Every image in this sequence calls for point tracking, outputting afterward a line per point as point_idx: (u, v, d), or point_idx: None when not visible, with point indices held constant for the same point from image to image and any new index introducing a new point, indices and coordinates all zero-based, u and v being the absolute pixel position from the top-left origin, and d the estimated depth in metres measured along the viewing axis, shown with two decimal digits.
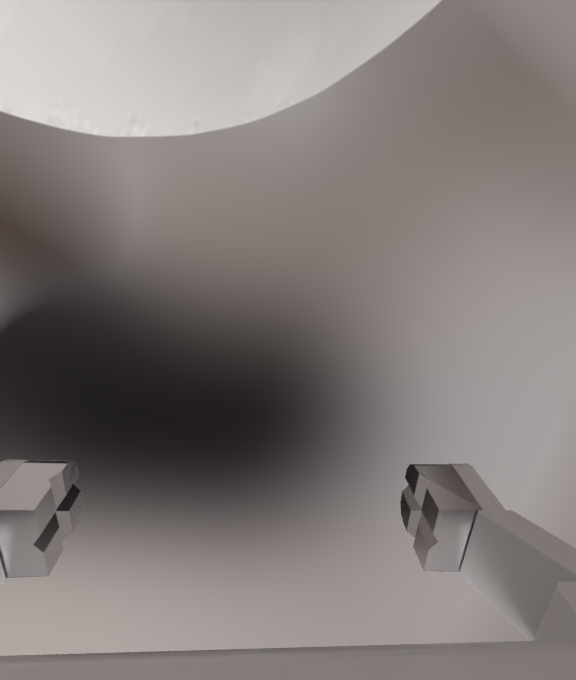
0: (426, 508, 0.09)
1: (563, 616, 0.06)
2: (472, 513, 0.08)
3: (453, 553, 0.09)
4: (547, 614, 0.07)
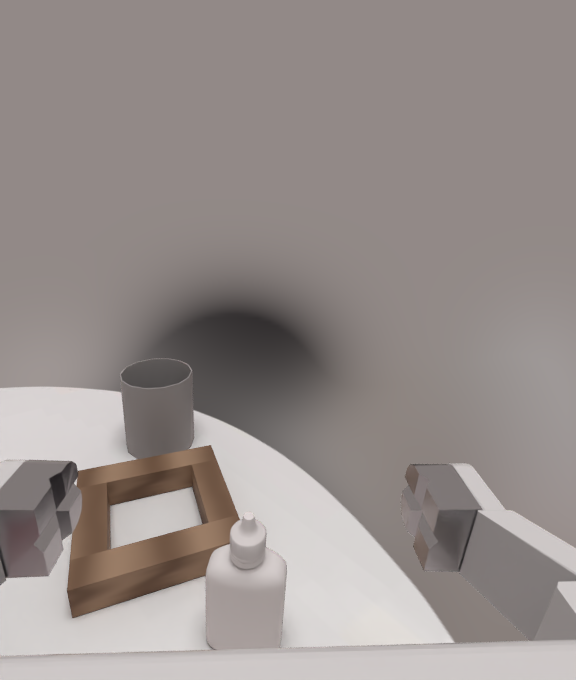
0: (426, 508, 0.09)
1: (563, 616, 0.06)
2: (472, 513, 0.08)
3: (453, 553, 0.09)
4: (547, 614, 0.07)
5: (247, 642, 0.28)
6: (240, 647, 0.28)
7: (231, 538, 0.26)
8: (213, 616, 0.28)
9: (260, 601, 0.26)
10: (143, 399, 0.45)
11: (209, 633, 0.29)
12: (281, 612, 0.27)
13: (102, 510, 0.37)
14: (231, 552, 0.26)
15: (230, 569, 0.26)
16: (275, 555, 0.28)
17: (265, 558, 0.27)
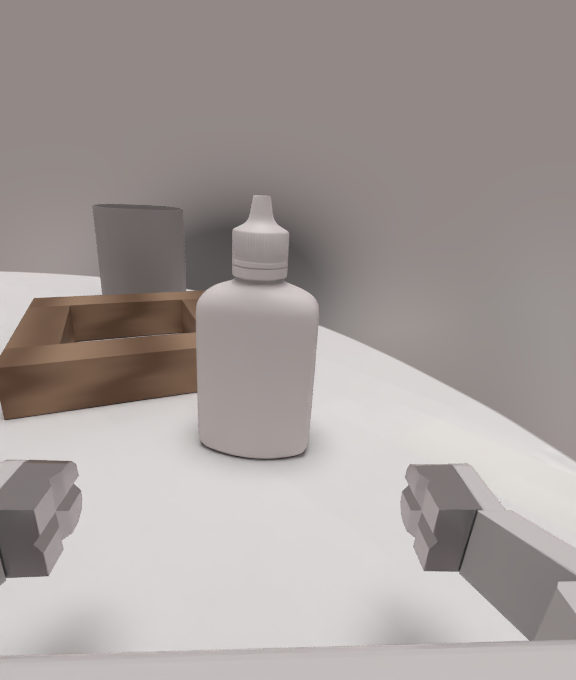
0: (426, 508, 0.09)
1: (563, 616, 0.06)
2: (472, 513, 0.08)
3: (453, 553, 0.09)
4: (547, 614, 0.07)
5: (261, 422, 0.18)
6: (249, 433, 0.18)
7: (235, 232, 0.16)
8: (208, 383, 0.18)
9: (281, 340, 0.17)
10: (120, 226, 0.36)
11: (202, 420, 0.19)
12: (312, 372, 0.18)
13: (59, 320, 0.27)
14: (234, 265, 0.17)
15: (233, 288, 0.17)
16: None
17: (287, 284, 0.18)
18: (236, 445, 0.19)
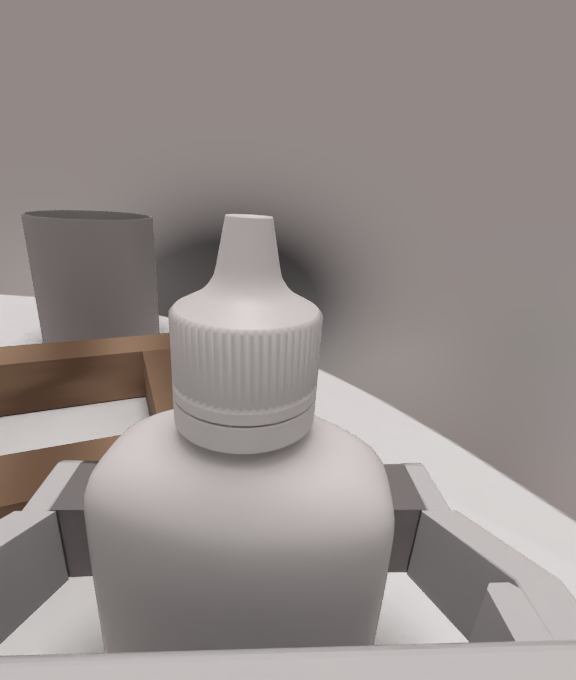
0: None
1: (491, 618, 0.06)
2: (416, 513, 0.08)
3: (399, 553, 0.09)
4: (478, 616, 0.07)
5: None
6: None
7: (172, 319, 0.06)
8: None
9: (303, 602, 0.06)
10: (58, 243, 0.25)
11: None
12: (373, 641, 0.07)
13: None
14: (177, 398, 0.06)
15: (172, 465, 0.06)
16: (346, 433, 0.08)
17: (314, 434, 0.07)
18: None
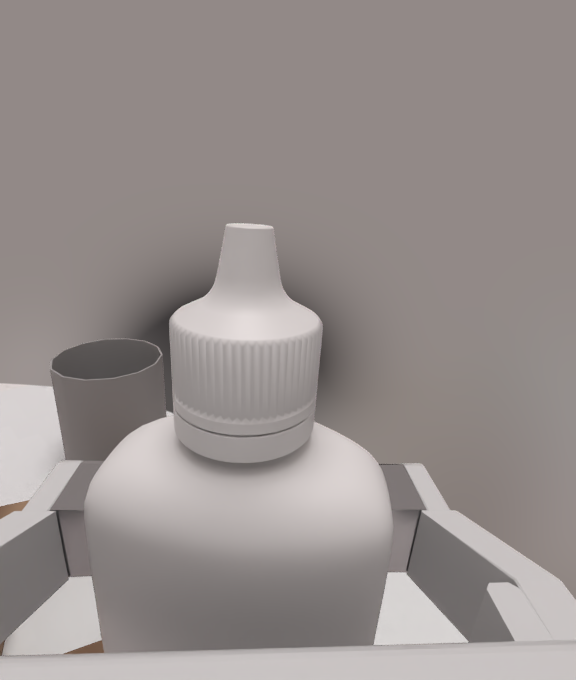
0: None
1: (491, 618, 0.06)
2: (416, 513, 0.08)
3: (399, 554, 0.09)
4: (478, 616, 0.07)
5: None
6: None
7: (173, 328, 0.06)
8: None
9: (302, 608, 0.06)
10: (82, 397, 0.29)
11: None
12: None
13: None
14: (176, 406, 0.06)
15: (173, 473, 0.06)
16: (346, 440, 0.08)
17: (314, 441, 0.07)
18: None
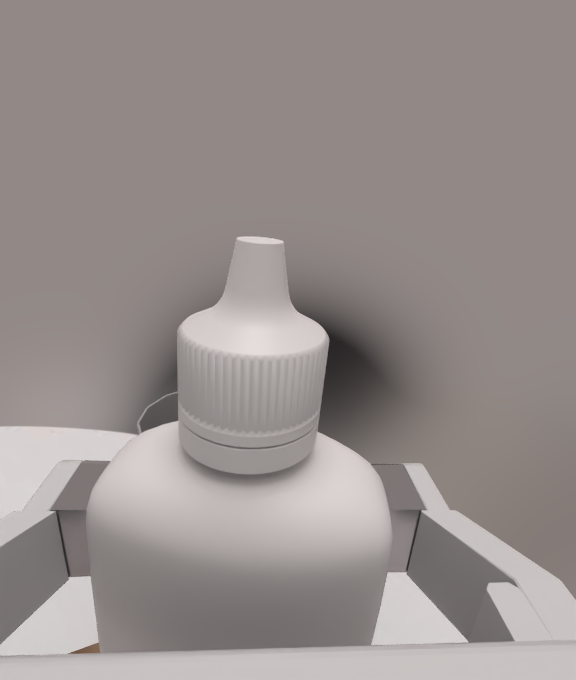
0: None
1: (490, 618, 0.06)
2: (416, 513, 0.08)
3: (399, 554, 0.09)
4: (478, 616, 0.07)
5: None
6: None
7: (182, 339, 0.06)
8: None
9: (302, 618, 0.06)
10: None
11: None
12: None
13: None
14: (182, 416, 0.06)
15: (177, 482, 0.06)
16: (347, 450, 0.08)
17: (316, 452, 0.07)
18: None
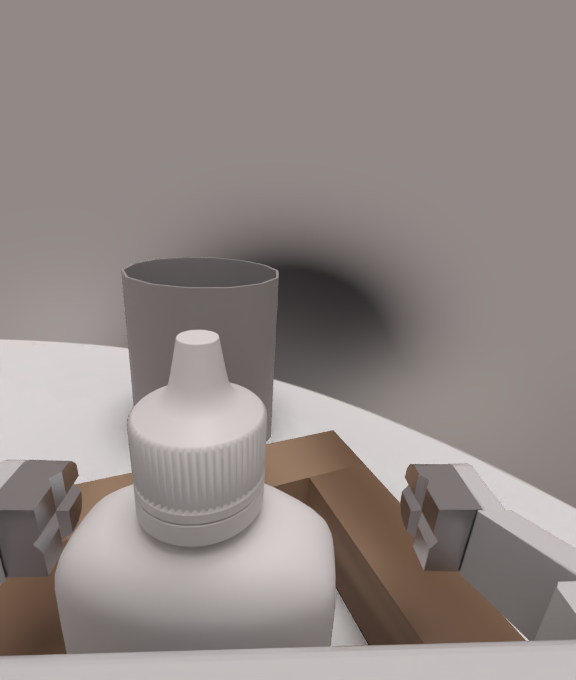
0: (425, 508, 0.09)
1: (563, 616, 0.06)
2: (472, 513, 0.08)
3: (453, 553, 0.09)
4: (547, 614, 0.07)
5: None
6: None
7: (130, 428, 0.07)
8: None
9: None
10: (179, 318, 0.18)
11: None
12: None
13: (61, 653, 0.10)
14: (136, 491, 0.07)
15: (134, 553, 0.07)
16: (296, 505, 0.08)
17: (264, 513, 0.08)
18: None
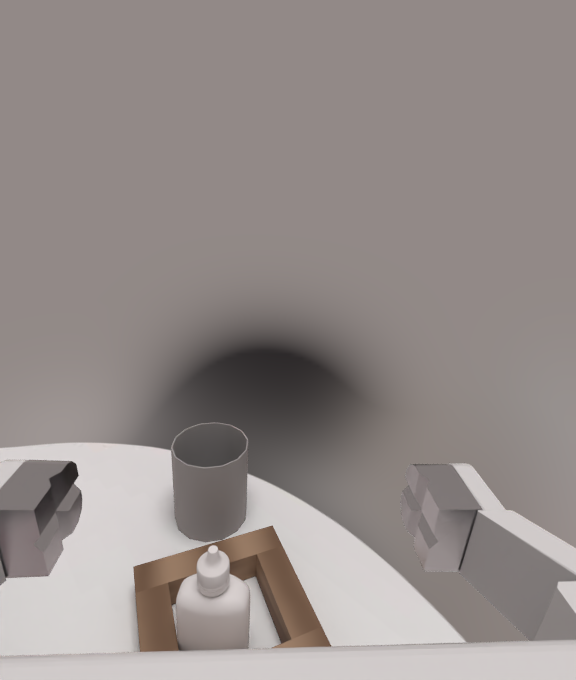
0: (426, 508, 0.09)
1: (563, 616, 0.06)
2: (472, 513, 0.08)
3: (453, 553, 0.09)
4: (547, 614, 0.07)
5: None
6: None
7: (197, 570, 0.29)
8: (184, 640, 0.31)
9: (225, 625, 0.29)
10: (199, 479, 0.41)
11: None
12: (245, 633, 0.30)
13: (169, 624, 0.32)
14: (198, 582, 0.29)
15: (197, 597, 0.29)
16: (239, 582, 0.31)
17: (229, 585, 0.30)
18: None
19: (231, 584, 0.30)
